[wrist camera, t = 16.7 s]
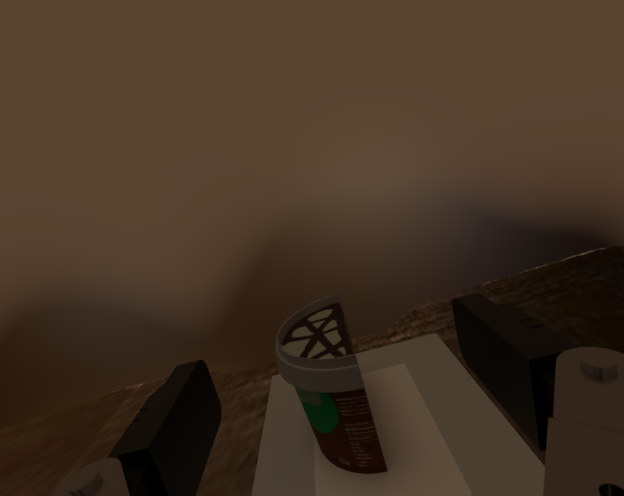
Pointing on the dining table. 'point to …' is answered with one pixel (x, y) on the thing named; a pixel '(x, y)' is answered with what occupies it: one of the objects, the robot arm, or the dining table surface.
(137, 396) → the dining table surface
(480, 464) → the dock
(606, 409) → the robot arm
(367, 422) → the food container
